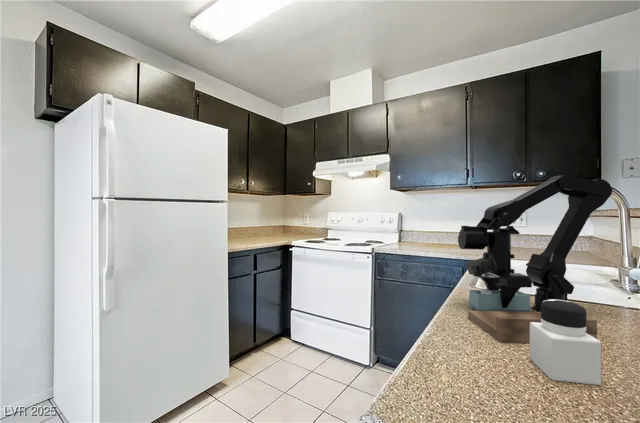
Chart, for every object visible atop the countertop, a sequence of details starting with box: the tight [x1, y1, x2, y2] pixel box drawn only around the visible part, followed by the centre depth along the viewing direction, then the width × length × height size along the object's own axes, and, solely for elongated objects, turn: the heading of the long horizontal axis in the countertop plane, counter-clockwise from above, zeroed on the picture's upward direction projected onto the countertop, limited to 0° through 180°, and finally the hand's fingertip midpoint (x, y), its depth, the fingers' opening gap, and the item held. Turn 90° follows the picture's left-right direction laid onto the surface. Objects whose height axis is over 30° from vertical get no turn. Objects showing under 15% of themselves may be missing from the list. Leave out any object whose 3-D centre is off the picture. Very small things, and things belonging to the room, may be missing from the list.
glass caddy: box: [468, 288, 531, 312], centre depth 82 cm, size 14×5×6 cm, turn 89°
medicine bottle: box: [529, 299, 602, 386], centre depth 50 cm, size 7×7×12 cm
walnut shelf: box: [467, 310, 598, 344], centre depth 68 cm, size 20×14×5 cm
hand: (498, 304), depth 82 cm, fingers closed on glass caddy, 5 cm apart
